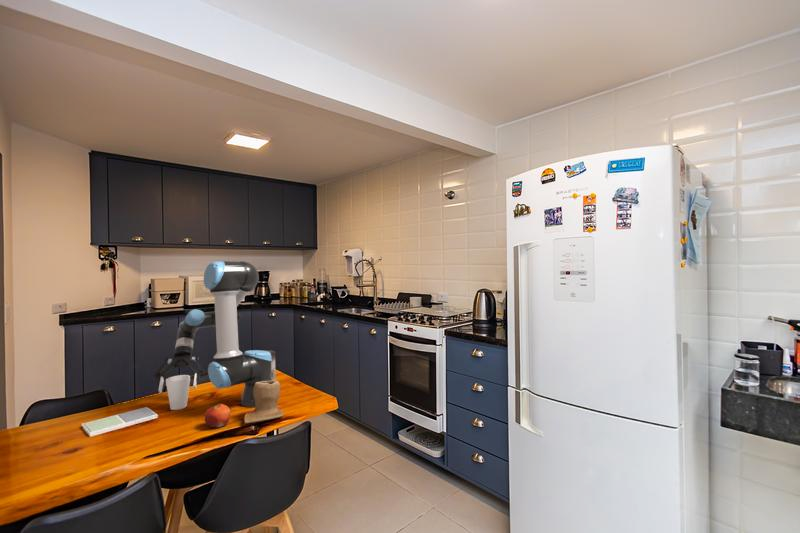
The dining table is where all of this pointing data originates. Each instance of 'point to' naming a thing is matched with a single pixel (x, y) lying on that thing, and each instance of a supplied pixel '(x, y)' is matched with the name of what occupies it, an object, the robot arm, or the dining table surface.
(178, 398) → the foam cup
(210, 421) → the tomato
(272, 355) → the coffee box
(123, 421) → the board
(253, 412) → the stone cup
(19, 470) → the dining table surface
